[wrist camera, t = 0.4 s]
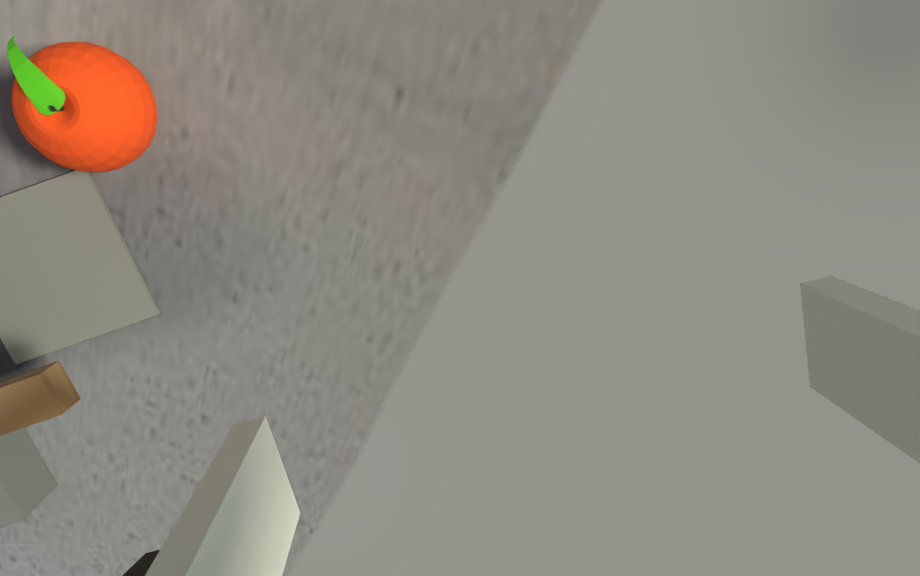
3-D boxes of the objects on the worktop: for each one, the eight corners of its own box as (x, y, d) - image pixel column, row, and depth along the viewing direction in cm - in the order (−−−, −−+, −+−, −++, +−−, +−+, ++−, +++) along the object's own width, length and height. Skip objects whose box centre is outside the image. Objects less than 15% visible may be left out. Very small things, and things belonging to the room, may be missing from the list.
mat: (-63, 220, 39) (-68, 221, 39) (87, 166, 39) (84, 167, 39) (19, 362, 42) (15, 364, 42) (160, 313, 42) (157, 314, 41)
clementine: (17, 82, 38) (-72, 74, 31) (103, 7, 37) (32, -18, 30) (116, 190, 40) (53, 205, 33) (200, 121, 39) (153, 121, 32)
